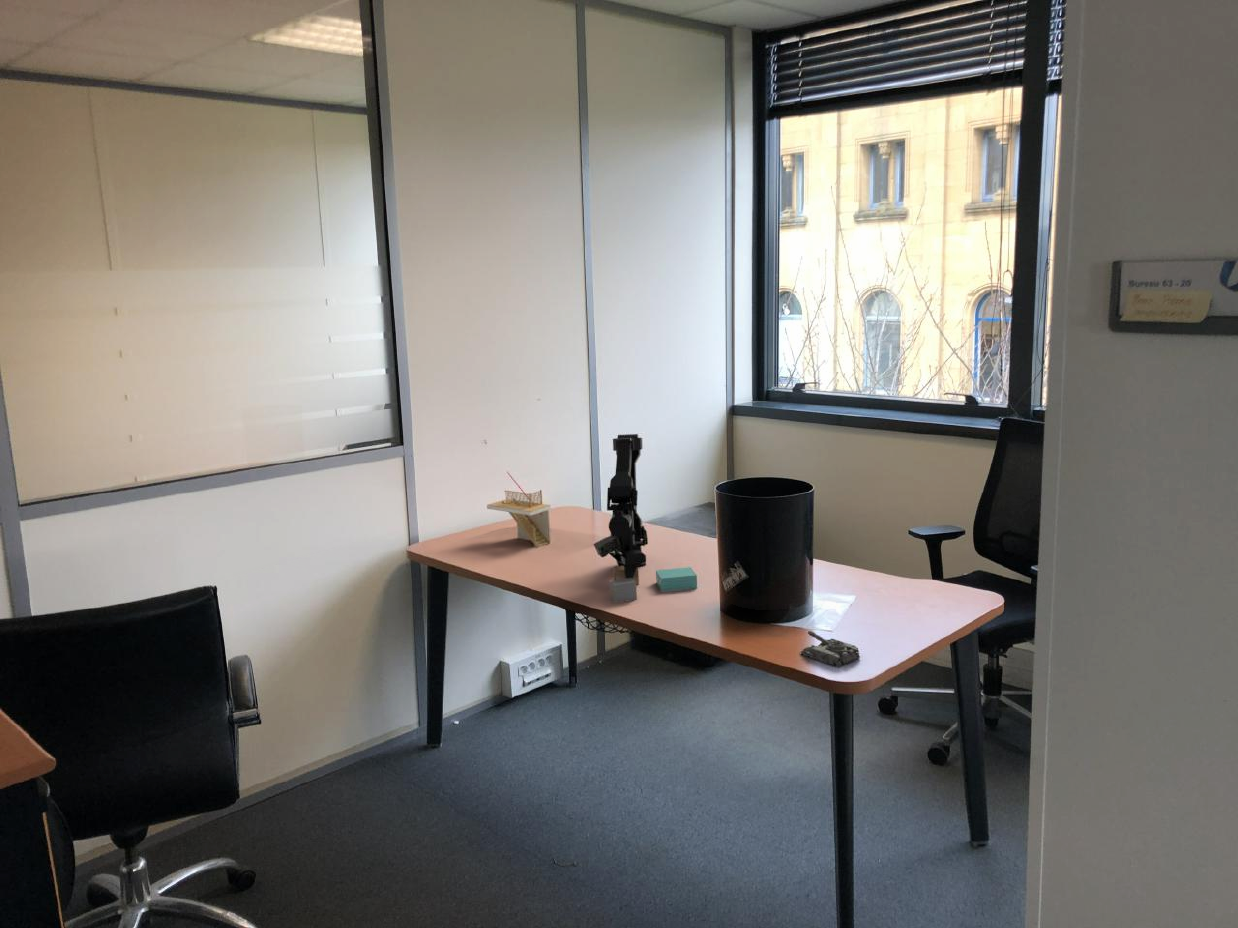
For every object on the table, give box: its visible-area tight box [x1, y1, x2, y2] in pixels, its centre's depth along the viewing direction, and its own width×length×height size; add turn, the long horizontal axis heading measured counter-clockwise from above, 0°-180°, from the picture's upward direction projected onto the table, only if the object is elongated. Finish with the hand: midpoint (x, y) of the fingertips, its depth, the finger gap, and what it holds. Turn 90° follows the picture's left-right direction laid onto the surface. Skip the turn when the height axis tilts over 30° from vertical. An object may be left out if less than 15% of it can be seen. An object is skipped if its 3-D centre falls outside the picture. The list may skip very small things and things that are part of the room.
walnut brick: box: [613, 565, 640, 586], centre depth 272 cm, size 4×6×5 cm, turn 109°
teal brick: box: [655, 566, 698, 592], centre depth 269 cm, size 8×10×4 cm
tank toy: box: [799, 630, 861, 668], centre depth 214 cm, size 12×10×5 cm
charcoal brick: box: [609, 578, 638, 604], centre depth 260 cm, size 4×6×5 cm, turn 109°
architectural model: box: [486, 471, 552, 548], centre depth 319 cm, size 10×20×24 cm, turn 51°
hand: (626, 580), depth 273 cm, fingers closed on walnut brick, 4 cm apart
